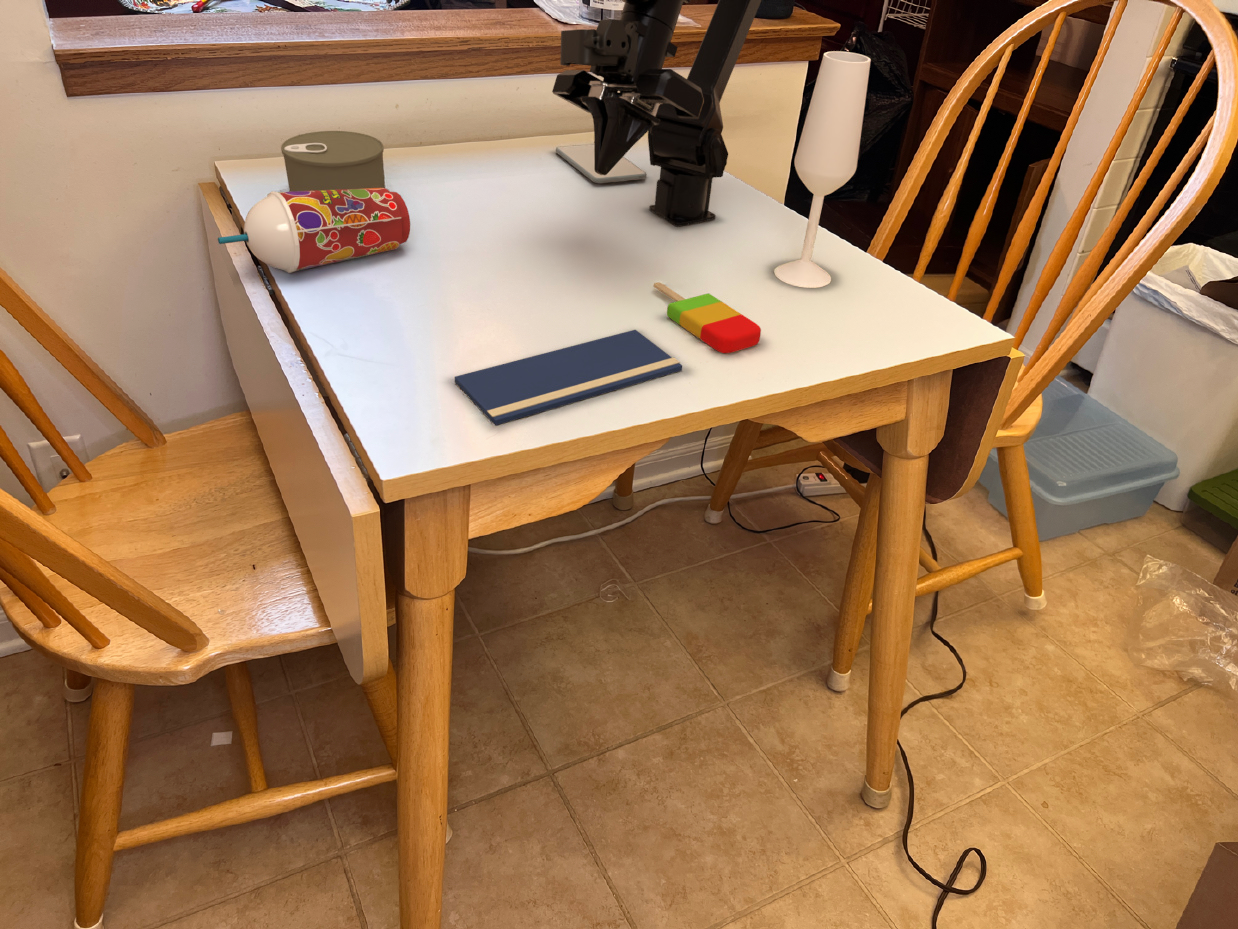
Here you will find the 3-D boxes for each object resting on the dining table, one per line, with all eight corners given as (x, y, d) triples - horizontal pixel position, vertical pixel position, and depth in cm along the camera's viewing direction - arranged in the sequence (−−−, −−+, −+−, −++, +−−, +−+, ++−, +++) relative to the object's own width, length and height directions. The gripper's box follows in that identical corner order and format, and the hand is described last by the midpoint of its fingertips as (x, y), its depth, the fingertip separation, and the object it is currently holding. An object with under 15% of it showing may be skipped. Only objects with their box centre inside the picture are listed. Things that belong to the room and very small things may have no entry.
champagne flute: (796, 258, 111) (838, 46, 96) (842, 277, 107) (893, 60, 93) (762, 272, 107) (800, 53, 92) (809, 293, 103) (856, 68, 89)
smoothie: (404, 171, 100) (216, 189, 89) (423, 247, 101) (240, 275, 90) (376, 188, 106) (198, 207, 95) (394, 260, 108) (221, 287, 97)
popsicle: (722, 357, 90) (725, 340, 89) (634, 295, 99) (636, 280, 98) (764, 344, 93) (767, 328, 91) (674, 285, 102) (676, 270, 101)
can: (394, 215, 113) (389, 159, 109) (292, 221, 109) (284, 164, 105) (380, 181, 122) (376, 128, 118) (286, 186, 118) (278, 132, 114)
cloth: (634, 334, 92) (635, 328, 92) (682, 370, 87) (682, 364, 87) (454, 382, 83) (454, 375, 82) (495, 426, 78) (495, 419, 77)
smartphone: (604, 142, 139) (649, 173, 128) (604, 148, 139) (648, 180, 128) (553, 146, 135) (595, 178, 125) (553, 152, 136) (594, 185, 125)
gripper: (536, -7, 96) (492, 140, 98) (649, -22, 82) (595, 149, 84) (613, 41, 103) (571, 177, 105) (729, 35, 89) (678, 191, 92)
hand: (600, 173), depth 96 cm, fingers closed
